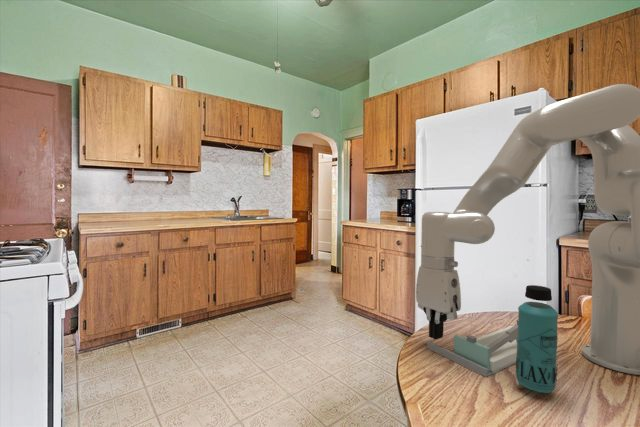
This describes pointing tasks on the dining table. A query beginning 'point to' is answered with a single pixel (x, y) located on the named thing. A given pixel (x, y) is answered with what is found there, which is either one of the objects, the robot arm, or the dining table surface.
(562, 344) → the dining table surface
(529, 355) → the beverage bottle
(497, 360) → the housing
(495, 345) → the caliper
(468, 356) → the gate
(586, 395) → the dining table surface
